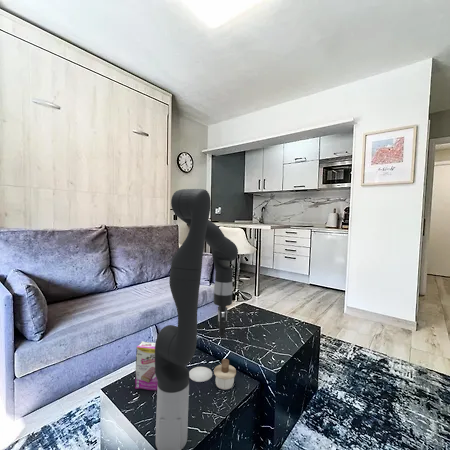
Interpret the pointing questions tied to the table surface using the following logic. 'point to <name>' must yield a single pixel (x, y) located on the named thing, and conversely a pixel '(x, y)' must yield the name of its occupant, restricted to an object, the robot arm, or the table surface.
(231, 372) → the lid
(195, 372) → the white round disc
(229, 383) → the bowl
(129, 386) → the table surface
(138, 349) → the candy bar box
